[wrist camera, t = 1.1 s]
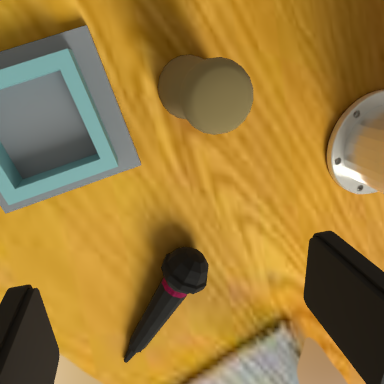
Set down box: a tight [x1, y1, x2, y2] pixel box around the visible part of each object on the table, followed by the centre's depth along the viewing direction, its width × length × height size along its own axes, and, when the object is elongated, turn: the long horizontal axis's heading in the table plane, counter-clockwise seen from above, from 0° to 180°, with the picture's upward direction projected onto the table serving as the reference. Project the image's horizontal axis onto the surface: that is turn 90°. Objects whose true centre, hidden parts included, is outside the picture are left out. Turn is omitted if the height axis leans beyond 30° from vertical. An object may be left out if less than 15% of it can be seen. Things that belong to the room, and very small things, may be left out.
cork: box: [158, 55, 253, 135], centre depth 25 cm, size 6×6×11 cm
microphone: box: [124, 247, 208, 363], centre depth 38 cm, size 6×6×20 cm
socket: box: [0, 25, 141, 213], centre depth 27 cm, size 14×13×3 cm
